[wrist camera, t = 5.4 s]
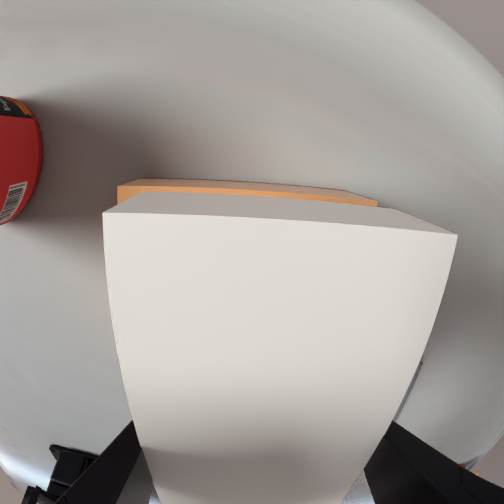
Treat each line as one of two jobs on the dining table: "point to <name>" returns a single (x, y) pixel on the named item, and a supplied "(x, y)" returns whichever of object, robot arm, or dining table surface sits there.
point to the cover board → (267, 337)
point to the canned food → (18, 157)
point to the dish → (238, 190)
